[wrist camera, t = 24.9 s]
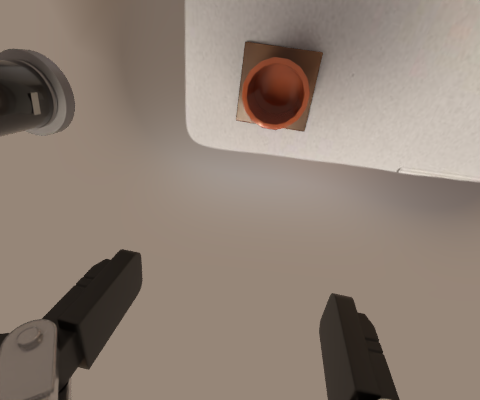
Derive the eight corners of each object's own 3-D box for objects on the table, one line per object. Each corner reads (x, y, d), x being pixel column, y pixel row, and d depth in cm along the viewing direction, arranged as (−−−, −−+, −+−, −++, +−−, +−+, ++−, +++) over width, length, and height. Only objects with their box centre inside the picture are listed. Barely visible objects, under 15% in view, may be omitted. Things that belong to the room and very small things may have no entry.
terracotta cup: (247, 112, 34) (238, 123, 27) (255, 56, 31) (246, 52, 24) (297, 120, 34) (300, 134, 27) (309, 64, 31) (317, 63, 24)
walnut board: (236, 119, 36) (235, 120, 35) (246, 42, 32) (245, 41, 31) (303, 130, 35) (304, 131, 34) (322, 52, 31) (323, 52, 30)
